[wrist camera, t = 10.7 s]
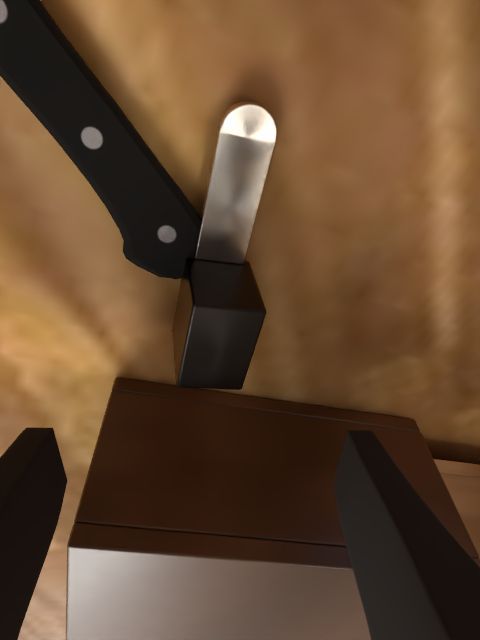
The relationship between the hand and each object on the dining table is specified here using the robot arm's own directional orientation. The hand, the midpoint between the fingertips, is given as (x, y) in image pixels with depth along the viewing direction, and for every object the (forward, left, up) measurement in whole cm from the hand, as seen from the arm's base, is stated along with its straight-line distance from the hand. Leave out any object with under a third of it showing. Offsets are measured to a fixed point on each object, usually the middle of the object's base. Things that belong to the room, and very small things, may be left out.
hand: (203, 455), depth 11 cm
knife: (0, -3, -7) cm, 8 cm away
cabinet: (-4, +12, -8) cm, 15 cm away
